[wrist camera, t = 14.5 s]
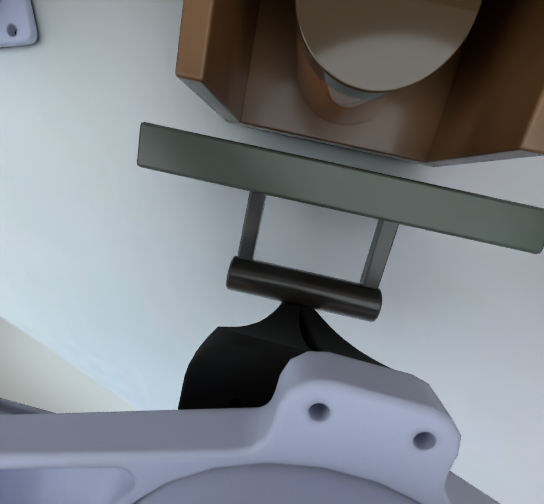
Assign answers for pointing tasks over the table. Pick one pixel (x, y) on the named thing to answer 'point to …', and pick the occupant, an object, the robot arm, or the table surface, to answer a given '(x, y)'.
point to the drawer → (357, 139)
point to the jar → (373, 51)
